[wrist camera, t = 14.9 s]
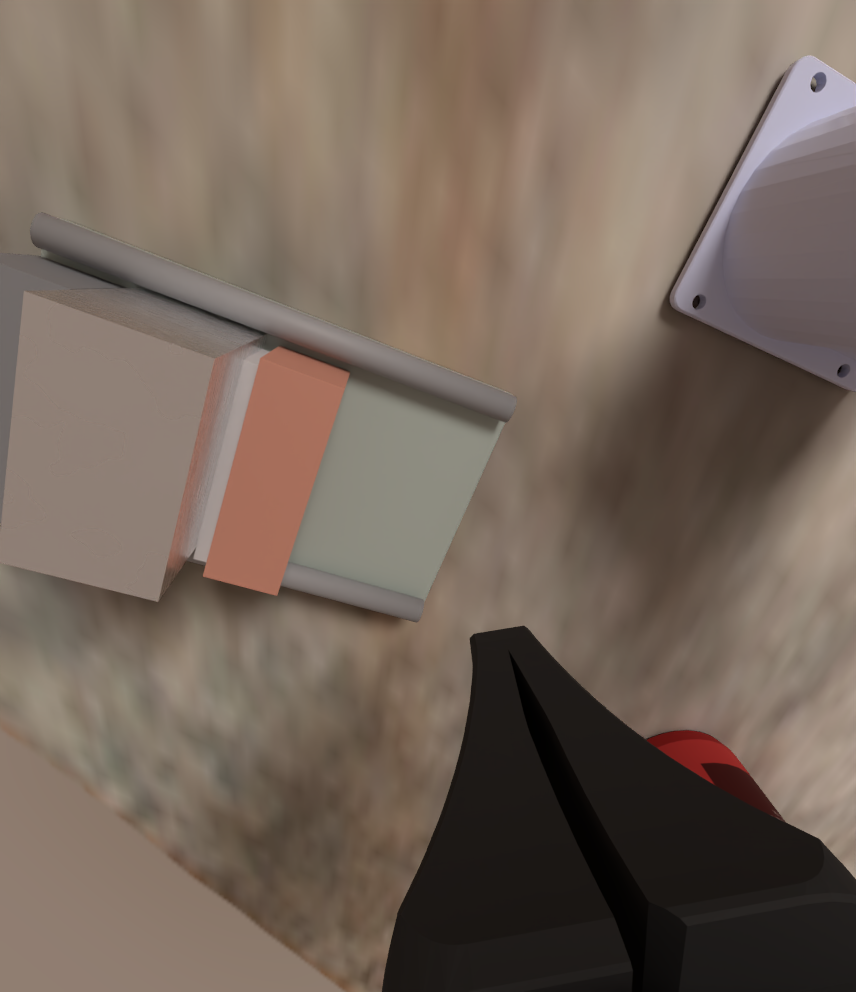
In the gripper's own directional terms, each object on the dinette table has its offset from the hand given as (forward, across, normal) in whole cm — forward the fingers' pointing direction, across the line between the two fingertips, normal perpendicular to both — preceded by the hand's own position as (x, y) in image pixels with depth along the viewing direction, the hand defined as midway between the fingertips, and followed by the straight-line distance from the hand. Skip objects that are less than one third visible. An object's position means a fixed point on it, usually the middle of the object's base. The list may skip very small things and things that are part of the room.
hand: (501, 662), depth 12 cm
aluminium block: (+9, +9, -6) cm, 14 cm away
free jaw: (+9, +6, -3) cm, 11 cm away
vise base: (+10, +9, -5) cm, 14 cm away
